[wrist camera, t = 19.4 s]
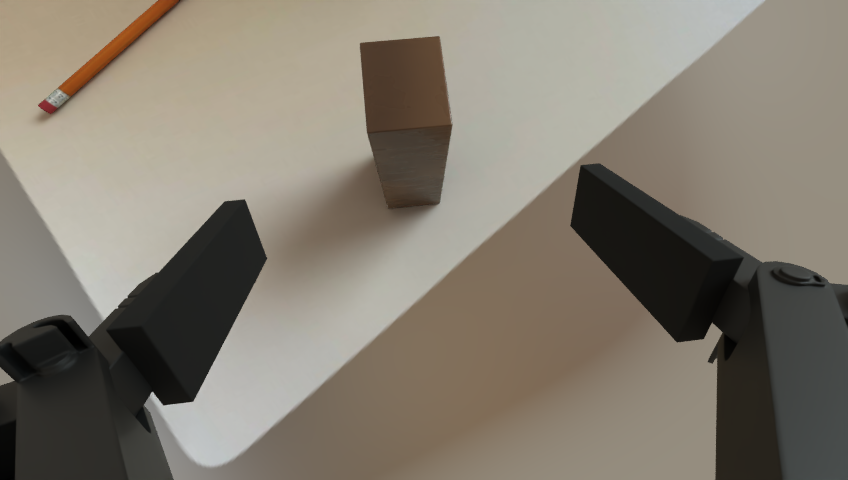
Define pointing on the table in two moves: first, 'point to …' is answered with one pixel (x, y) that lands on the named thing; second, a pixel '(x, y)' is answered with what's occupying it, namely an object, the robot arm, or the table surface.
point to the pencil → (105, 55)
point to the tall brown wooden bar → (407, 117)
